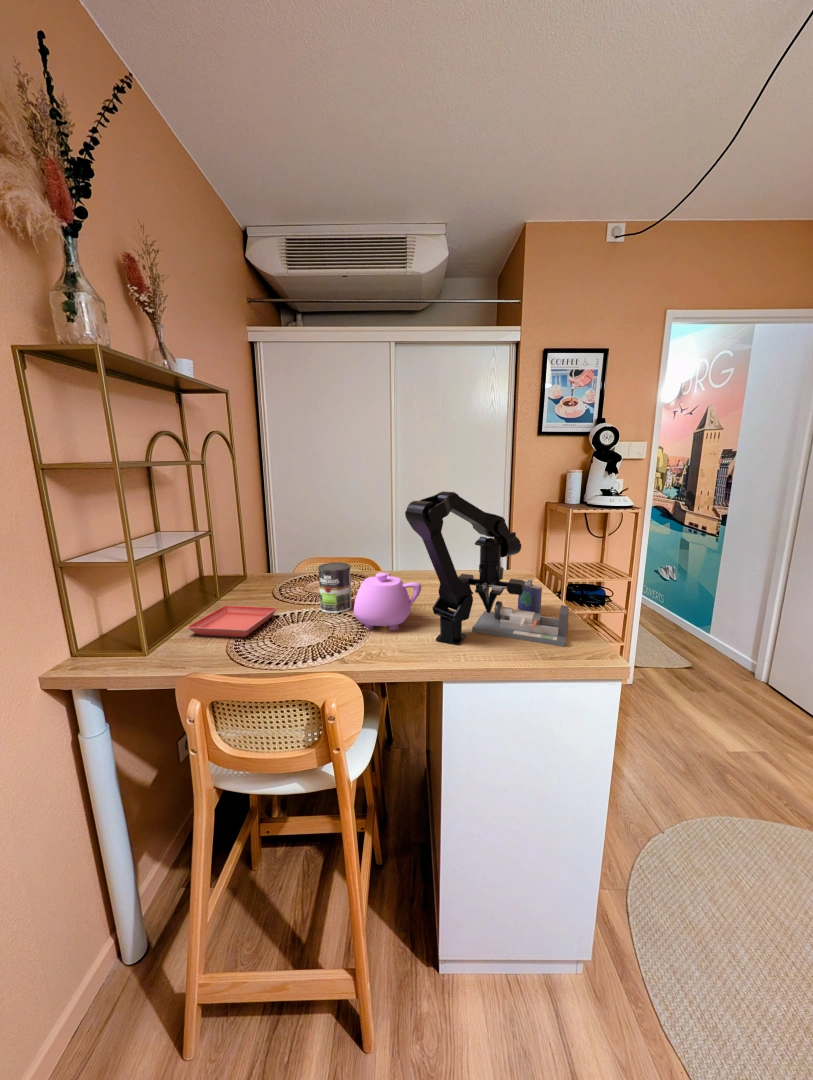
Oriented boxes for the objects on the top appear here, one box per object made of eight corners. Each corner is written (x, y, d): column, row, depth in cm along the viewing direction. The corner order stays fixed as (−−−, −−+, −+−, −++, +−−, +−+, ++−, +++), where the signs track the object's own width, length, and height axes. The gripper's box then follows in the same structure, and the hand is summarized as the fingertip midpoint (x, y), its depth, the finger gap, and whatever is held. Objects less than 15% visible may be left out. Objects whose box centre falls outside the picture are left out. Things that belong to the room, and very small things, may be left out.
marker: (529, 635, 105) (529, 625, 105) (534, 622, 114) (534, 612, 113) (536, 636, 105) (537, 626, 104) (541, 623, 113) (541, 613, 112)
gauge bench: (472, 631, 112) (472, 606, 110) (484, 614, 124) (485, 592, 123) (564, 646, 102) (566, 619, 101) (568, 626, 114) (569, 602, 113)
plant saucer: (225, 614, 129) (224, 604, 128) (278, 616, 126) (277, 606, 125) (186, 638, 111) (185, 627, 111) (247, 641, 108) (246, 630, 108)
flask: (542, 616, 122) (544, 582, 120) (535, 617, 121) (536, 583, 119) (522, 606, 131) (523, 574, 129) (514, 608, 129) (515, 575, 128)
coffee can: (343, 614, 126) (341, 571, 123) (314, 611, 129) (311, 569, 126) (357, 604, 135) (355, 563, 133) (329, 601, 138) (327, 561, 136)
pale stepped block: (490, 629, 110) (491, 609, 109) (498, 617, 118) (498, 598, 117) (529, 635, 105) (530, 614, 104) (534, 622, 114) (535, 603, 113)
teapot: (424, 609, 130) (423, 563, 127) (419, 635, 110) (419, 582, 107) (363, 608, 132) (362, 563, 129) (349, 633, 112) (346, 581, 109)
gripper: (528, 556, 117) (526, 607, 120) (465, 551, 124) (465, 599, 127) (522, 565, 107) (520, 621, 110) (454, 559, 114) (454, 611, 117)
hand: (488, 612), depth 116 cm, fingers closed
